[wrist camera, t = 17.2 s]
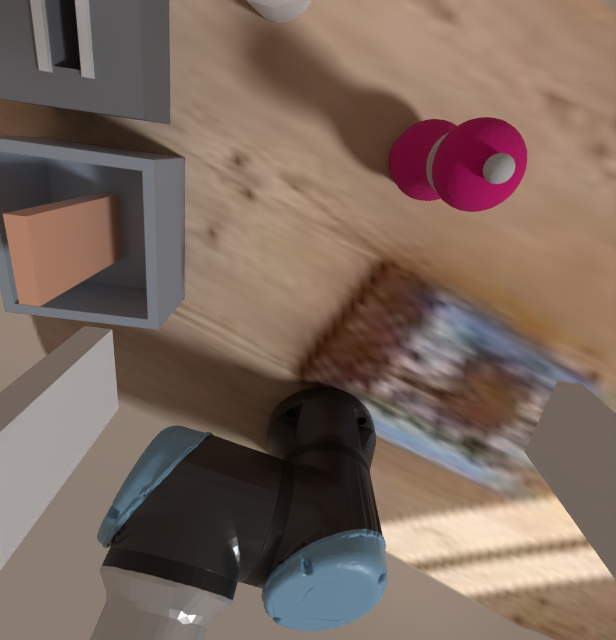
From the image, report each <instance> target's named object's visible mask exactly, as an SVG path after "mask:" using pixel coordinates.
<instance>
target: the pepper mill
mask: <svg viewBox="0 0 616 640" xmlns="http://www.w3.org/2000/svg"><path fill="white" fill-rule="evenodd" d="M526 164H527V149H526V145H525V142H524V140H523V138H522V136H521V134H520V133H519V132H518V131H517V130H516V128H515V127H513V126H512V125H510V124H509V123H507V122H506V121H503V120H500V119H496V118H489V117H485V118H476V119H472V120H468V121H466V122H464V123H462V124H460V125H458V126H457V125H455V124H453V123H451V122H448V121H445V120H439V119H430V120H425V121H421V122H419V123H417V124H415V125H413V126H412V127H410V128H409V129H408V130H407V131H406V132H405V133H404V134H403V135H401V136H400V137H399V138H398V139H397V141H396V142H395V143H394V145H393V147H392V149H391V152H390V156H389V169H390V173H391V176H392V178H393V180H394V181H395V183H396V184H397V186H398V187H399V189H400V190H401V191H402V192H403V193H404V194H406V195H407V196H409V197H411V198H413V199H417V200H425V201H431V200H437V199H440V198H441V199H442V200H443V201H444V202H446V203H447V204H448V205H450V206H451V207H453V208H456V209H458V210H463V211H469V212H476V211H483V210H486V209H490V208H493V207H494V206H496V205H498V204H500V203H502V202H503V201H504V200H506V199H507V198H508V197H509V196H510V195H511V194H512V193H513V192H514V191H515V189H516V188H517V186H518V185H519V183H520V181H521V180H522V178H523V175H524V173H525V170H526Z"/></svg>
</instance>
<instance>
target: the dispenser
mask: <svg viewBox="0 0 616 640" xmlns="http://www.w3.org/2000/svg"><path fill="white" fill-rule="evenodd" d="M0 99H4V100H11V101H17V102H23V103H29V104H35V105H42V106H48V107H54V108H61V109H68V110H75V111H82V112H89V113H96V114H103V115H110V116H116V117H123V118H130V119H137V120H144V121H151V122H158V123H165V124H170V58H169V0H0Z"/></svg>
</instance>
